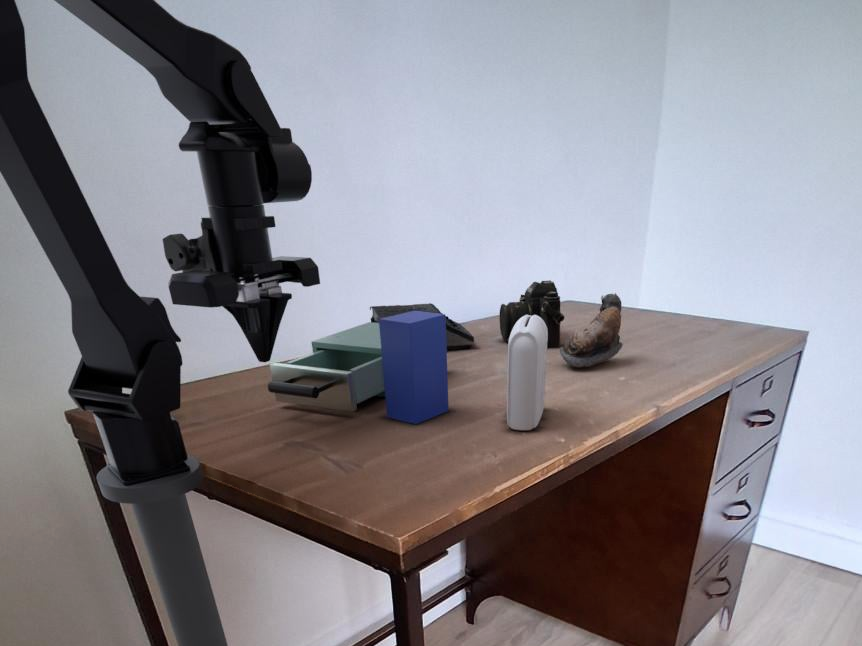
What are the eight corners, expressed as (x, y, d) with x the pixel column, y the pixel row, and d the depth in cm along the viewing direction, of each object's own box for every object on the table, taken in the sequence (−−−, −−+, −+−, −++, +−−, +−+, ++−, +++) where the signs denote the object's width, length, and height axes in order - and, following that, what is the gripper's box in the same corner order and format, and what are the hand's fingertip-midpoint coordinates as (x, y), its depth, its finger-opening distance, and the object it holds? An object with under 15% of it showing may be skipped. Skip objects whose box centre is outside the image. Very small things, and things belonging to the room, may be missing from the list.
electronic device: (475, 349, 121) (475, 312, 117) (379, 355, 117) (376, 316, 114) (460, 336, 130) (460, 300, 126) (371, 340, 127) (368, 304, 123)
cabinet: (396, 398, 95) (392, 349, 92) (317, 388, 100) (311, 341, 96) (445, 373, 107) (443, 328, 103) (372, 365, 112) (368, 322, 108)
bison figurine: (583, 374, 106) (589, 304, 100) (549, 366, 110) (553, 299, 104) (627, 361, 113) (635, 295, 107) (594, 354, 117) (599, 290, 111)
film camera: (479, 335, 131) (479, 277, 125) (534, 328, 135) (536, 273, 129) (525, 353, 118) (527, 290, 112) (584, 346, 122) (588, 285, 116)
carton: (415, 424, 86) (409, 323, 79) (386, 417, 88) (378, 319, 81) (448, 411, 91) (445, 314, 84) (420, 404, 93) (415, 310, 86)
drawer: (333, 421, 84) (328, 381, 82) (255, 409, 89) (248, 372, 86) (406, 384, 98) (404, 349, 95) (336, 376, 102) (331, 342, 100)
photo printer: (515, 407, 92) (517, 308, 85) (546, 408, 91) (551, 309, 84) (503, 431, 84) (504, 323, 76) (537, 433, 83) (542, 324, 76)
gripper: (236, 201, 80) (261, 340, 89) (108, 208, 66) (153, 373, 75) (312, 202, 76) (331, 347, 85) (193, 210, 62) (230, 383, 72)
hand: (264, 361), depth 79 cm, fingers closed
